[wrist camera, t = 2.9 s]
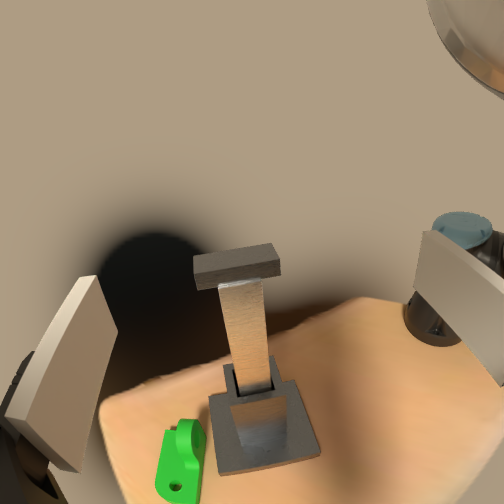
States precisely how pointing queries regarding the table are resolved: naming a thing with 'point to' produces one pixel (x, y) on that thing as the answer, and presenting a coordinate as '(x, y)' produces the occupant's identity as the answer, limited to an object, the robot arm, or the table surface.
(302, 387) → the table surface
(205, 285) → the column
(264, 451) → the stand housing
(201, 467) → the mechanical part
